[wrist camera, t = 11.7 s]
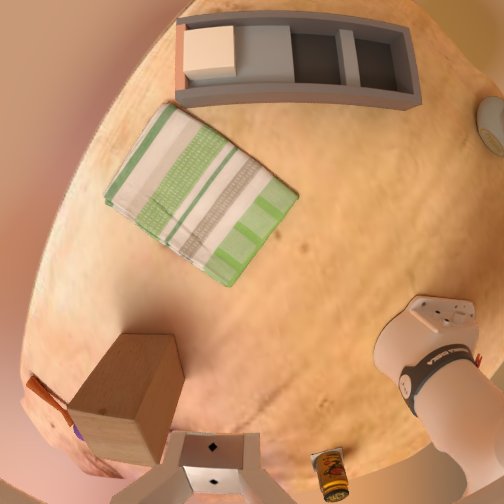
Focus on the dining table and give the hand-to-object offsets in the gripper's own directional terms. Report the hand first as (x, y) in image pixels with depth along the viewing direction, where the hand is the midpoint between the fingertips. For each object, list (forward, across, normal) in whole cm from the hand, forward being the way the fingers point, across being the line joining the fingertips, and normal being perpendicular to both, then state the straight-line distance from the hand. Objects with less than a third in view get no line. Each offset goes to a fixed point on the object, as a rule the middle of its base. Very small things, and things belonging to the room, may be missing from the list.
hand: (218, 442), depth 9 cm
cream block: (+31, +3, -25) cm, 40 cm away
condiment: (+34, -16, +52) cm, 64 cm away
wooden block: (+34, +17, +20) cm, 43 cm away
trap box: (+34, -9, -25) cm, 43 cm away
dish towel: (+35, +6, -6) cm, 36 cm away
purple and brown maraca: (+35, +44, +36) cm, 66 cm away
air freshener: (+34, -44, -19) cm, 59 cm away
